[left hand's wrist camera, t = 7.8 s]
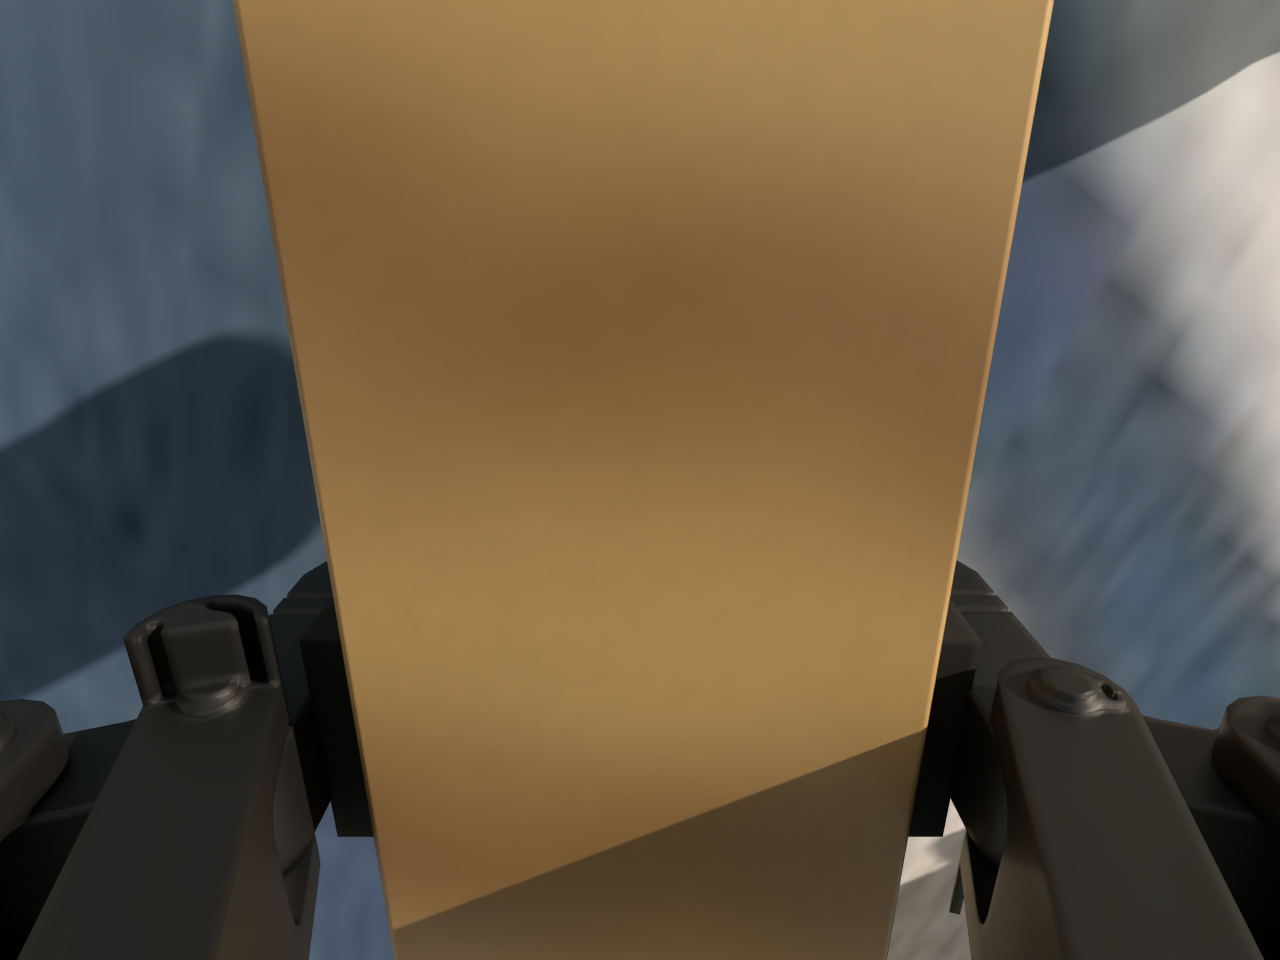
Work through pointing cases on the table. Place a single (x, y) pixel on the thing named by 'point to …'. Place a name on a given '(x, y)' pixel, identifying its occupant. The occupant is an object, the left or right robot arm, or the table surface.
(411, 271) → the post
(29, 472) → the table surface
